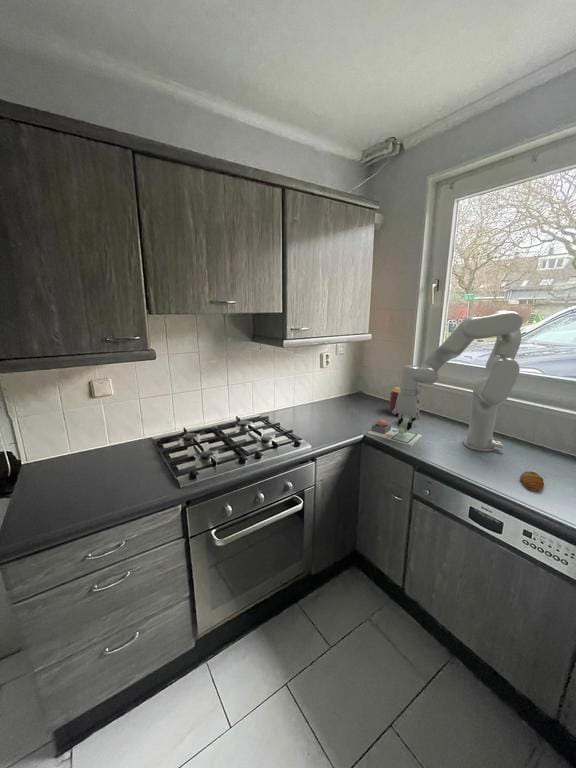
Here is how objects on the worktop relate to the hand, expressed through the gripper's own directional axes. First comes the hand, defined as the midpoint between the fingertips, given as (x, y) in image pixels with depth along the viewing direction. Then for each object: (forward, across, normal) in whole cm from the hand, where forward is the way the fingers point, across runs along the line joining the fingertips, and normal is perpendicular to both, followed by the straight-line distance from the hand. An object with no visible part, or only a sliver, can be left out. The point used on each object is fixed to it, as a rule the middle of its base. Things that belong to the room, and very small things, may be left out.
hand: (404, 428), depth 152 cm
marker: (+1, 0, -1) cm, 1 cm away
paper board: (+5, +5, 0) cm, 7 cm away
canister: (+5, +15, -32) cm, 36 cm away
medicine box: (+5, +5, -18) cm, 19 cm away
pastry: (+5, -51, +10) cm, 52 cm away
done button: (+2, +12, 0) cm, 12 cm away
